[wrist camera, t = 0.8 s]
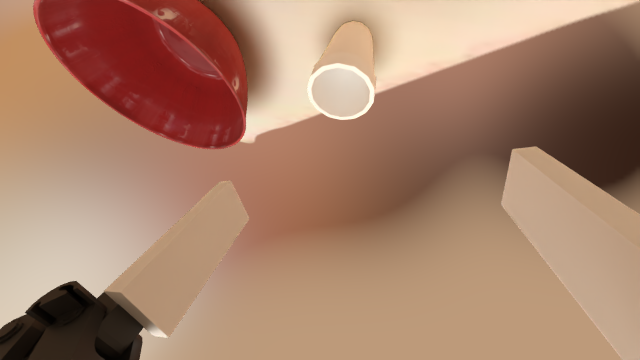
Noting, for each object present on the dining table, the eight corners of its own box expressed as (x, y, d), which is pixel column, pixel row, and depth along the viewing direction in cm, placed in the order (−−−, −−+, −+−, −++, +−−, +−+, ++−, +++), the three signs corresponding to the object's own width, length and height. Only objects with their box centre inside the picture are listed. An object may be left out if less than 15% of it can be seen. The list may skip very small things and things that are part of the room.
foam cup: (390, 54, 38) (384, 109, 32) (342, 75, 43) (329, 125, 37) (367, -5, 32) (355, 50, 26) (314, 28, 37) (294, 79, 31)
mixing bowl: (195, -110, 26) (110, -63, 19) (296, 90, 49) (275, 147, 42) (76, -25, 38) (-6, 24, 30) (203, 106, 60) (173, 153, 53)
